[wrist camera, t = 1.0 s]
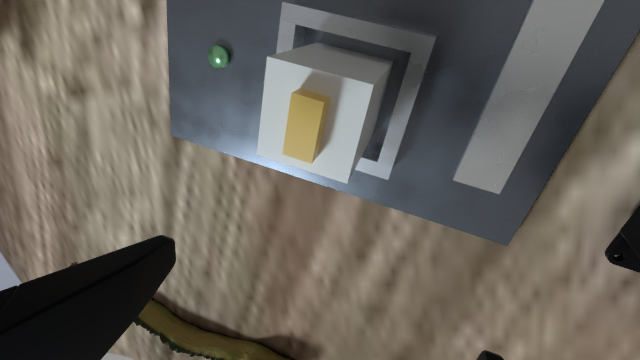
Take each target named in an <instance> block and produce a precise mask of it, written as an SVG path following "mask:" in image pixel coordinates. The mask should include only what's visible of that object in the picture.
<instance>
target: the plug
mask: <svg viewBox="0 0 640 360" xmlns="http://www.w3.org/2000/svg"><path fill="white" fill-rule="evenodd" d="M393 62H394V61H390V60H386V59H382V58H378V57H374V56H370V55H366V54H362V53H358V52H354V51H350V50H346V49H342V48H338V47H334V46H330V45H326V44H322V43H318V42H317V43H313V44H310V45H306V46H303V47H299V48H295V49H292V50H288V51H285V52H281V53H277V54H274V55H270V56H267V61H266V71H265V80H264V90H263V99H262V109H261V118H260V128H259V137H258V147H257V155H260V156H263V157H266V158H269V159H272V160H275V161H278V162H281V163H284V164H287V165H290V166H294V167H297V168H300V169H303V170H306V171H309V172H312V173H315V174H318V175H321V176H324V177H327V178H331V179H334V180H337V181H340V182H343V183H346V184H347V183H348V182H349V180H350V178H351V176H352V174H353V172H354V170H355V168H356V166H357V164H358V162H359V160H360V158H361V156H362V155H363V153H364V151H365V149H366V147H367V145H368V143H369V141H370V139H371V137H372V135H373V131H374V128H375V124H376V121H377V117H378V114H379V110H380V107H381V103H382V100H383V97H384V93H385V90H386V86H387V83H388V79H389V76H390V72H391V69H392V65H393Z"/></svg>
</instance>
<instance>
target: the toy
mask: <svg viewBox="0 0 640 360" xmlns="http://www.w3.org/2000/svg"><path fill="white" fill-rule="evenodd" d="M70 267H71V266H70ZM134 323H136V326H138V325H141V326H142V327H143V328H146V329H147V331H150V334H151V333H153V334H154V335H155V336H160V339H161V341H162V343H163V344H164V343H166V345H169V347H170V349H171V350H172V351H174V350H175V351H176V352H177V353H180V352H182V353H186V354H189V355H190V357H193V356H195V355H197V356H203V357H204V358H206V359H209V358H211V360H291V359H288V358H284V357H282V356H280V355H278V354H276V353H275V352H273V351H272V350H270V349H268V348H266V347H264V346H263V345H260V344H258V343H255V342H252V341H248V340H241V339H236V338H230V337H227V336H223V335H220V334H216V333H212V332H206V331H203V330H201V329H199V328H197V327H195V326H193V325H191V324H189V323H187V322H185V321H184V320H181V319H179V318H177V317H176V316H175V315H174V314H173V313H172V312H171V311H170V310H168V309H167V308H166V307H164V306H163V305H161V304H159V303H157V302H156V301H153V300H152V299H151V300H150V301H149V302H148V304H147V305H146V306H145V308H144V309H143V310H142V312H141V313H140V314H139V315H138V317H137V318H136V319H135V320H134Z"/></svg>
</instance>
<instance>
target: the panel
mask: <svg viewBox="0 0 640 360" xmlns="http://www.w3.org/2000/svg"><path fill="white" fill-rule="evenodd" d="M167 27H168V56H169V85H170V114H171V135H172V136H175V137H178V138H181V139H184V140H187V141H190V142H193V143H196V144H199V145H202V146H205V147H208V148H211V149H214V150H217V151H220V152H223V153H226V154H229V155H232V156H235V157H238V158H242V159H245V160H248V161H251V162H254V163H257V164H260V165H263V166H266V167H269V168H272V169H275V170H278V171H281V172H284V173H287V174H290V175H293V176H296V177H299V178H302V179H305V180H308V181H311V182H314V183H318V184H321V185H324V186H327V187H330V188H333V189H336V190H339V191H342V192H345V193H348V194H351V195H354V196H357V197H360V198H363V199H366V200H369V201H372V202H375V203H378V204H381V205H384V206H387V207H390V208H394V209H397V210H400V211H403V212H406V213H409V214H412V215H415V216H418V217H421V218H424V219H427V220H430V221H433V222H436V223H439V224H442V225H445V226H448V227H451V228H454V229H457V230H460V231H463V232H466V233H470V234H473V235H476V236H479V237H482V238H485V239H488V240H491V241H494V242H497V243H500V244H503V245H506V246H508V244H509V243H510V241H511V239H512V238H513V236H514V234H515V233H516V231H517V230H518V228H519V226H520V225H521V223H522V221H523V220H524V218H525V217H526V215H527V213H528V212H529V210H530V208H531V207H532V205H533V203H534V202H535V200H536V199H537V197H538V195H539V194H540V192H541V190H542V189H543V187H544V186H545V184H546V182H547V181H548V179H549V177H550V176H551V174H552V172H553V171H554V169H555V168H556V166H557V164H558V163H559V161H560V159H561V158H562V156H563V154H564V153H565V151H566V150H567V148H568V146H569V145H570V143H571V141H572V140H573V138H574V137H575V135H576V133H577V132H578V130H579V128H580V127H581V125H582V123H583V122H584V120H585V119H586V117H587V115H588V114H589V112H590V110H591V109H592V107H593V106H594V104H595V102H596V101H597V99H598V97H599V96H600V94H601V92H602V91H603V89H604V88H605V86H606V84H607V83H608V81H609V79H610V78H611V76H612V74H613V73H614V71H615V70H616V68H617V66H618V65H619V63H620V61H621V60H622V58H623V57H624V55H625V53H626V52H627V50H628V48H629V47H630V45H631V43H632V42H633V40H634V39H635V37H636V35H637V34H638V32H639V30H640V0H167ZM317 42H318V43H322V44H326V45H330V46H334V47H338V48H342V49H346V50H350V51H354V52H358V53H362V54H366V55H370V56H374V57H378V58H382V59H386V60H390V61H394V62H393V65H392V69H391V72H390V76H389V79H388V83H387V86H386V90H385V93H384V97H383V100H382V103H381V107H380V110H379V114H378V117H377V121H376V124H375V128H374V131H373V135H372V137H371V139H370V141H369V143H368V145H367V147H366V149H365V151H364V153H363V155H362V156H361V158H360V160H359V162H358V164H357V166H356V168H355V170H354V172H353V174H352V176H351V178H350V180H349V182H348V183H347V184H346V183H343V182H340V181H337V180H334V179H331V178H327V177H324V176H321V175H318V174H315V173H312V172H309V171H306V170H303V169H300V168H297V167H294V166H290V165H287V164H284V163H281V162H278V161H275V160H272V159H269V158H266V157H263V156H260V155H257V147H258V137H259V128H260V118H261V109H262V99H263V90H264V80H265V71H266V61H267V56H270V55H274V54H277V53H281V52H285V51H288V50H292V49H295V48H299V47H303V46H306V45H310V44H313V43H317Z"/></svg>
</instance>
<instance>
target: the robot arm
mask: <svg viewBox="0 0 640 360" xmlns="http://www.w3.org/2000/svg"><path fill="white" fill-rule="evenodd" d="M619 253H621V255H620V256H617V257H615V255H616V254H619ZM605 256H606V257H607V259H608V260H609V261H610V263H612V264H615V265H618V266H621V267H624V268H627V269H630V270H633V271H636V272H639V273H640V206H639V207H638V209H637V210H636V211H635V212H634V214H633V215H632V216H631V217H630V218H629V220H628V221H627V222H626V223H625V225H624V226H623V227H622V228H621V230H620V233H619V234H618V236H617V237H616V238H615V239H614V241H613V242H612V243H611V244H610V245H609V247H608V248H607V249H606V251H605ZM175 261H176V252H175V241H174V240H173V239H172V238H169V237H166V236H164V235H159V236H156V237H153V238H150V239H147V240H145V241H142V242H139V243H136V244H133V245H130V246H128V247H125V248H122V249H119V250H116V251H113V252H110V253H108V254H105V255H102V256H99V257H96V258H93V259H91V260H88V261H85V262H82V263H79V264H76V265H73V266H71V267H68V268H65V269H62V270H59V271H56V272H54V273H51V274H48V275H45V276H42V277H39V278H36V279H34V280H31V281H28V282H25V283H22V284H20V285H19V286H14V287H11V288H8V289H5V290H2V291H0V360H101V359H102V357H103V356H104V355H105V354H106V353H107V352H108V351H109V349H110V348H111V347H112V346H113V345H114V344H115V342H116V341H117V340H118V339H119V338H120V337H121V335H122V334H123V333H124V332H125V331H126V330H127V328H128V327H129V326H130V325H131V324H132V322H133V321H134V320H135V319H136V318H137V317H138V315H139V314H140V313H141V312H142V310H143V309H144V308H145V306H146V305H147V304H148V302H149V301H150V300H151V298H152V297H153V295H154V294H155V292H156V291H157V290H158V288H159V287H160V285H161V284H162V282H163V281H164V279H165V278H166V277H167V275H168V274H169V272H170V271H171V269H172V268H173V266H174V264H175ZM477 360H504V359H503V358H502V357H501V356H500V355H498V354H495V353H492V352H489V351H486V350H484V351H482V352H481V354H480V355H479V357H478V358H477Z"/></svg>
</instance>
